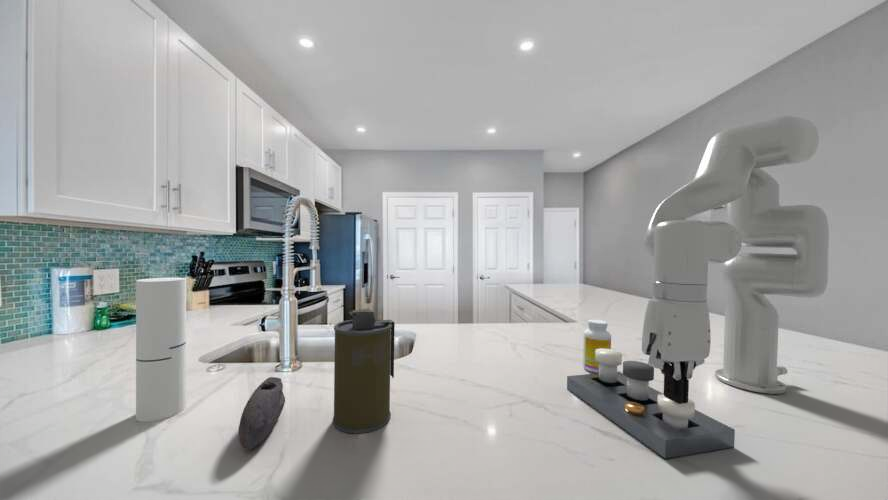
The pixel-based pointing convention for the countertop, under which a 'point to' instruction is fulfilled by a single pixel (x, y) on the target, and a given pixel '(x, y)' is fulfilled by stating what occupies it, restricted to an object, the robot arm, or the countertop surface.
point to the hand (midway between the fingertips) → (675, 399)
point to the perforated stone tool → (261, 412)
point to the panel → (650, 418)
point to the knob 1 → (608, 364)
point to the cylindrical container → (160, 348)
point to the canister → (363, 372)
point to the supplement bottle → (594, 343)
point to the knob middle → (638, 379)
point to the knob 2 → (675, 412)
